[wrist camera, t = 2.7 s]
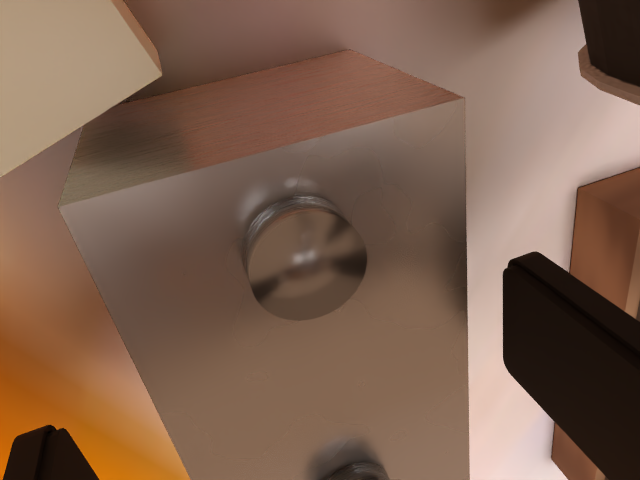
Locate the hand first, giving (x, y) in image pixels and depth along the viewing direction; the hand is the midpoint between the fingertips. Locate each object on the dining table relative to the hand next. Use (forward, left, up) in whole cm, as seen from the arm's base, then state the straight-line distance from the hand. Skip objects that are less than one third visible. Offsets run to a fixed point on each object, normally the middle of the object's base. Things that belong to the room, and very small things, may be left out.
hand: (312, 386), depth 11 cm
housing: (0, 0, -5) cm, 5 cm away
